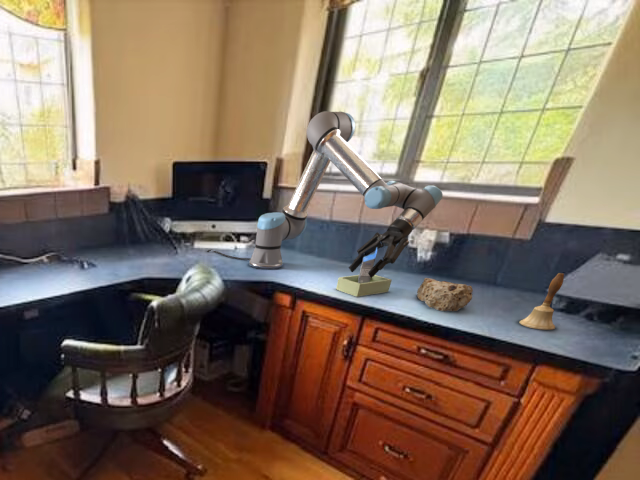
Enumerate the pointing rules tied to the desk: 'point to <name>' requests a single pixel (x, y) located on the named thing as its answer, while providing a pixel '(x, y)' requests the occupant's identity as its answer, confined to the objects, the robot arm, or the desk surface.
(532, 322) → the hand bell
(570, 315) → the desk surface
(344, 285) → the dock
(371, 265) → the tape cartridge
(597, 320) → the desk surface
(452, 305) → the rock
